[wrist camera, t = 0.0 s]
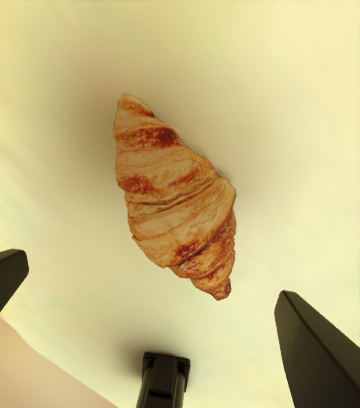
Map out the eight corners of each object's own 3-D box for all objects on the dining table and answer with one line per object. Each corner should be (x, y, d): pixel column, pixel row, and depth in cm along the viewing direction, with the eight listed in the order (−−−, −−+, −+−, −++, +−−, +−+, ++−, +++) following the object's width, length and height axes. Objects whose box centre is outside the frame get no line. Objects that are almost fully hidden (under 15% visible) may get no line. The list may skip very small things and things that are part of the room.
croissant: (118, 115, 24) (47, 135, 18) (188, 55, 17) (109, 56, 11) (203, 271, 29) (168, 324, 23) (282, 272, 22) (261, 348, 16)
